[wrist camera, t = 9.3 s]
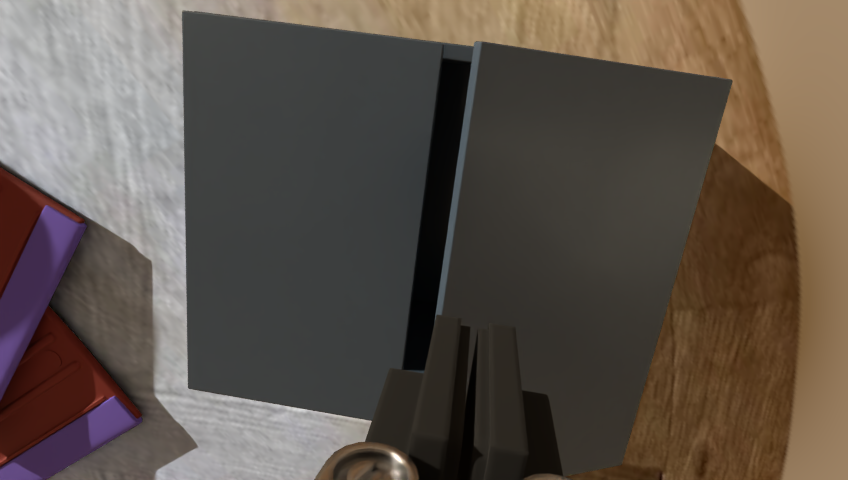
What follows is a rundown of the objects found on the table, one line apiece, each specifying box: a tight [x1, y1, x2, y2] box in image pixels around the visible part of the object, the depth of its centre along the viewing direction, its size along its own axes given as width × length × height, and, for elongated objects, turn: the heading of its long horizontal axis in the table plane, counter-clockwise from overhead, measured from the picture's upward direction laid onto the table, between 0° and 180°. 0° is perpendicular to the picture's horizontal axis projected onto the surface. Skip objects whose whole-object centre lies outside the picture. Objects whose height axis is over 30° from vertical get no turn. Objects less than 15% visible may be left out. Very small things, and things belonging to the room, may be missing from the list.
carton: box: [182, 11, 719, 421], centre depth 24 cm, size 17×14×11 cm
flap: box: [434, 41, 732, 477], centre depth 17 cm, size 8×14×1 cm, turn 173°
